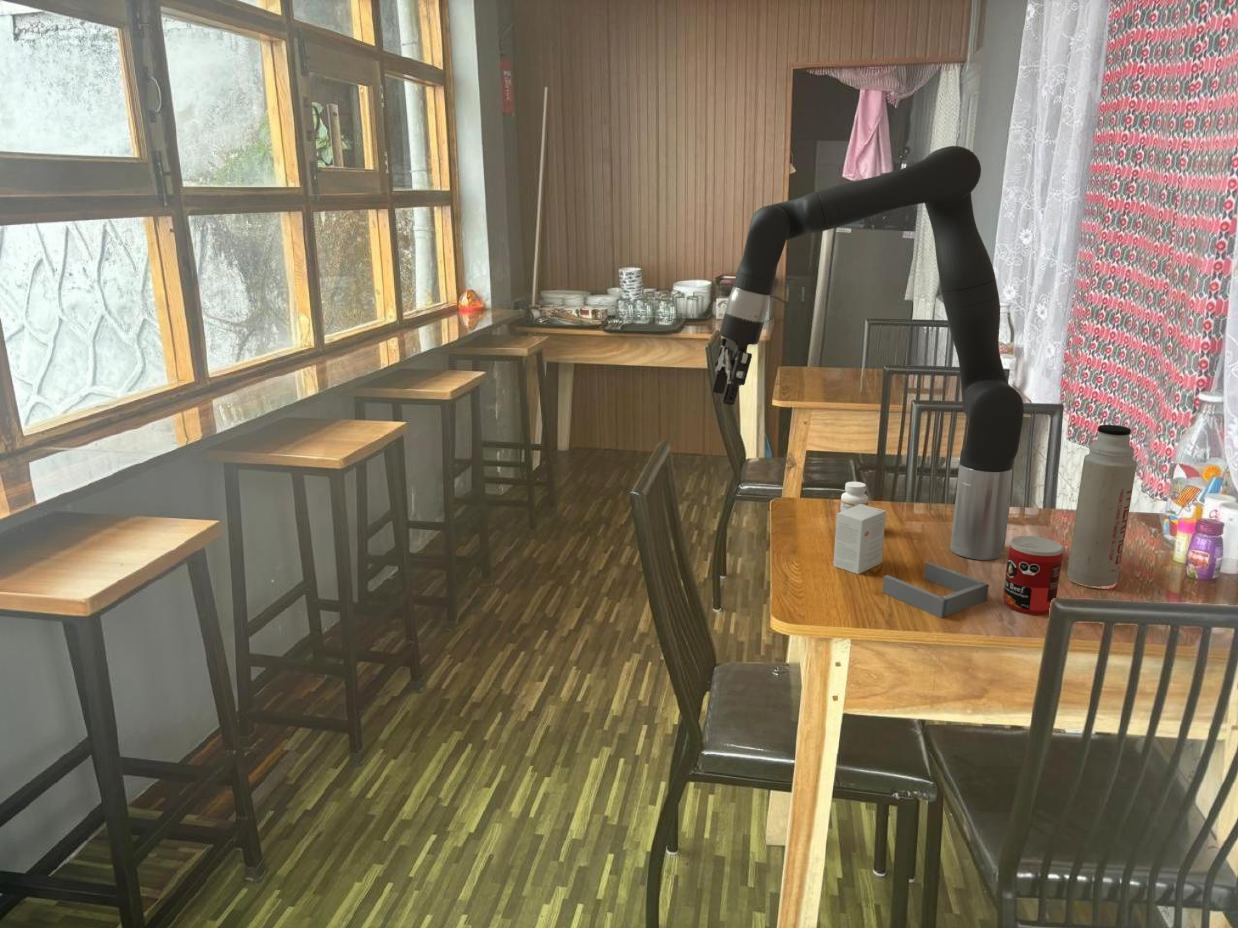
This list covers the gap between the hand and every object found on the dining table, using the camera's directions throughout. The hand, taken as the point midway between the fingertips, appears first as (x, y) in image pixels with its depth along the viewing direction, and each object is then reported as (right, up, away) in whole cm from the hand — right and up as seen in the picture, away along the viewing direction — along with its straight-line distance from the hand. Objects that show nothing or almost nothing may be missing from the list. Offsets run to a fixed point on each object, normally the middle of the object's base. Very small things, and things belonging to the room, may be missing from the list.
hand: (722, 398), depth 171 cm
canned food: (+48, -36, -22) cm, 64 cm away
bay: (+34, -35, -18) cm, 52 cm away
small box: (+24, -31, -5) cm, 40 cm away
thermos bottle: (+64, -33, -12) cm, 73 cm away
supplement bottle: (+28, -26, +14) cm, 41 cm away
